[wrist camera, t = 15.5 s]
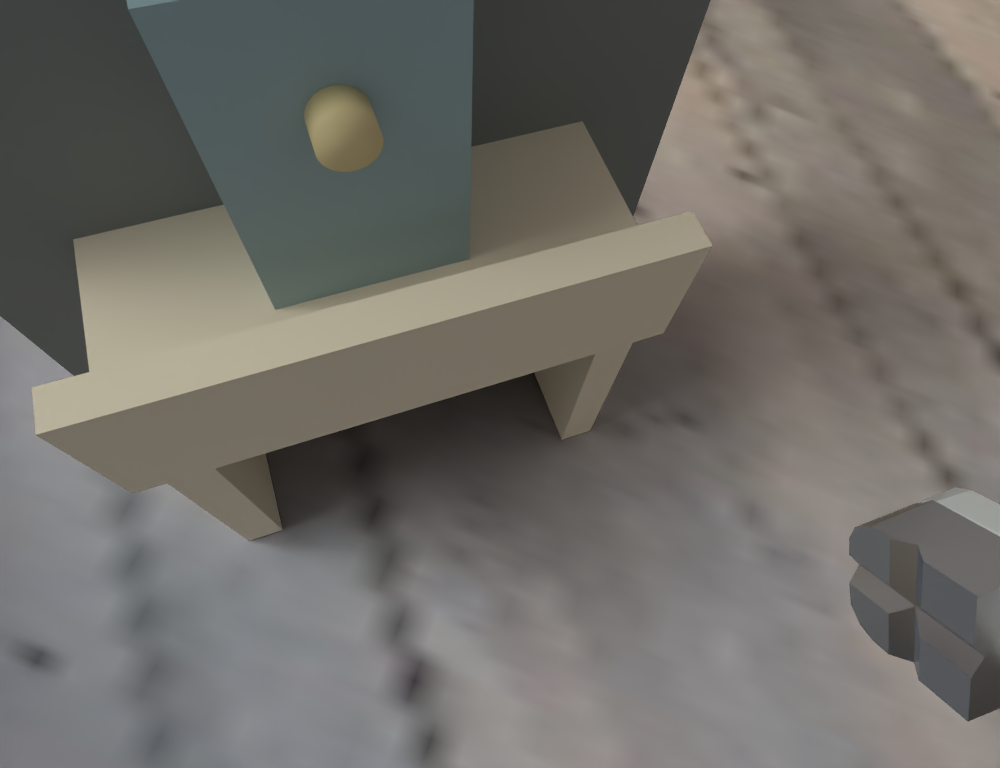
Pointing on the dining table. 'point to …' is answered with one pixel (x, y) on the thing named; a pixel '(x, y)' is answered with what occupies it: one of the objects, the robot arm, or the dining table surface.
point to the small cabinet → (327, 130)
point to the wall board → (347, 315)
